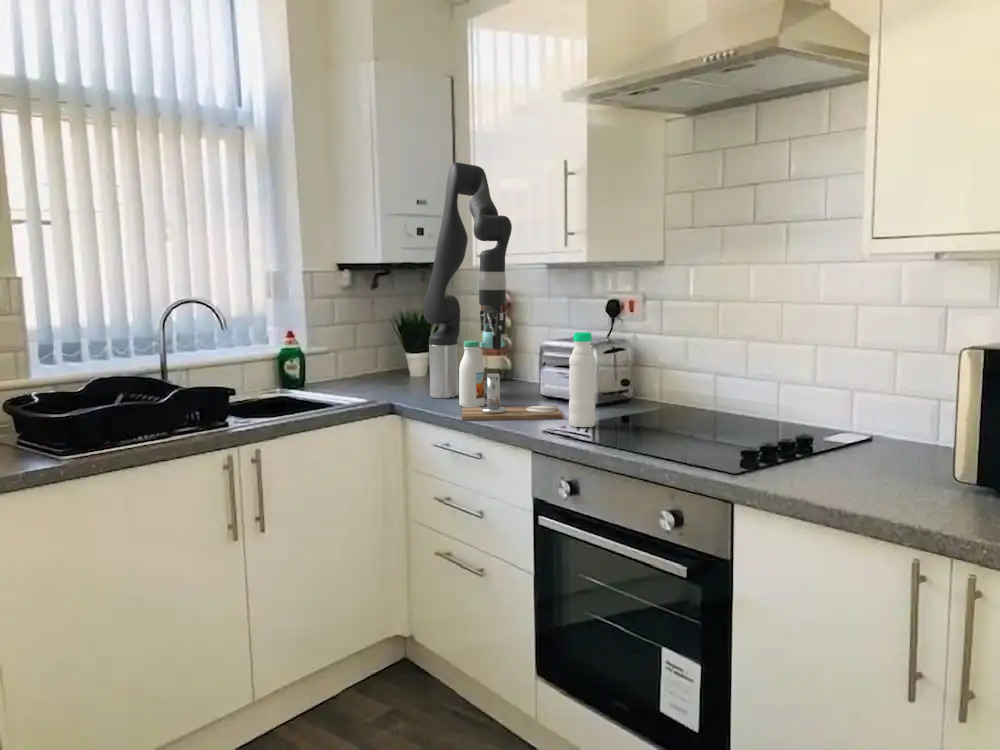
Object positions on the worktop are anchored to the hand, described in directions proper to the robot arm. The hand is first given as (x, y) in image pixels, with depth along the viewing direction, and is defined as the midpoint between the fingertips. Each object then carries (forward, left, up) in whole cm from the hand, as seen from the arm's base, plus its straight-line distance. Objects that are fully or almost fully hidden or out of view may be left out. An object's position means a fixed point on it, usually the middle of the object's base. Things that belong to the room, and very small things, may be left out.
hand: (492, 348), depth 224 cm
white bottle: (+16, +23, -20) cm, 34 cm away
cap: (0, 0, 0) cm, 0 cm away
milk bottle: (-17, -6, -20) cm, 27 cm away
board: (-1, +5, -20) cm, 20 cm away
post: (0, 0, -18) cm, 18 cm away
